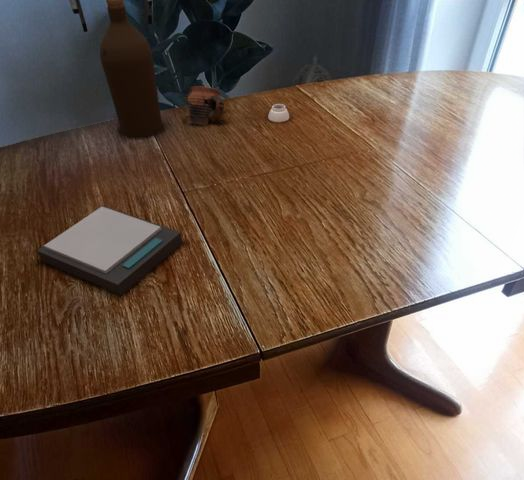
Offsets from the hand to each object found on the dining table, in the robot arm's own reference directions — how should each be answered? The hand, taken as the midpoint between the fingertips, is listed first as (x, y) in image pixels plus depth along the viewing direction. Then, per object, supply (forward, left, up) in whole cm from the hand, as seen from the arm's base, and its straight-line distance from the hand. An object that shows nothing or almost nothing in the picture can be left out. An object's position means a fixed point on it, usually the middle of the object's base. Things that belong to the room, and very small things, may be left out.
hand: (118, 23), depth 97 cm
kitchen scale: (+32, -43, -19) cm, 57 cm away
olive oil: (+5, -4, -20) cm, 21 cm away
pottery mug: (+15, +8, -20) cm, 26 cm away
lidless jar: (+30, +16, -20) cm, 39 cm away
